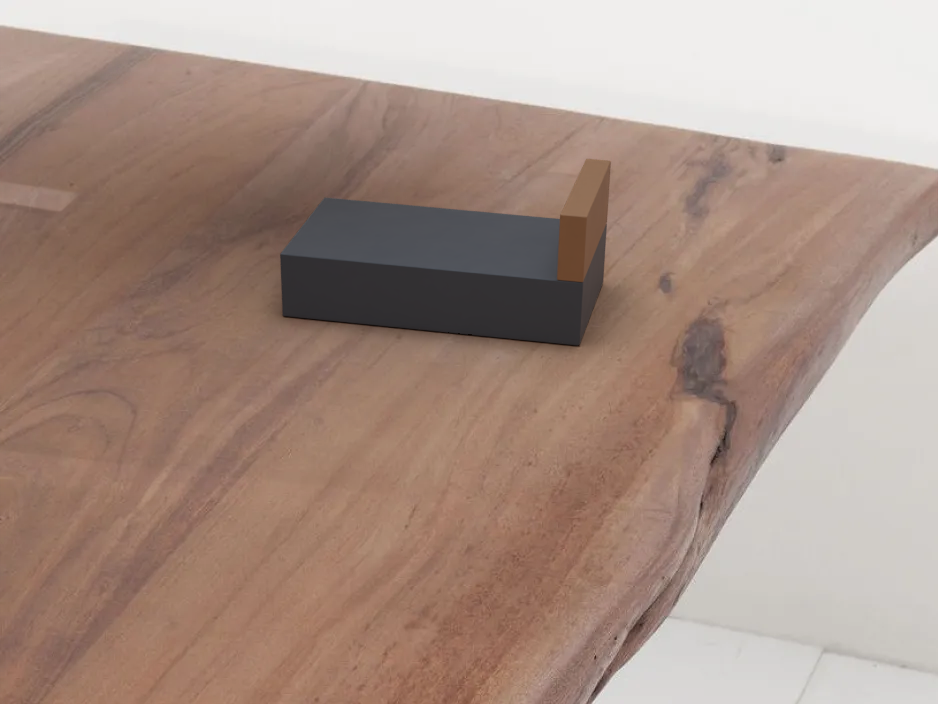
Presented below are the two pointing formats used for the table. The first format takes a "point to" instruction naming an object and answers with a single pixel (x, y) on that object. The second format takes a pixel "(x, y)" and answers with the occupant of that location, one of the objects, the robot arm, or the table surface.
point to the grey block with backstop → (453, 266)
